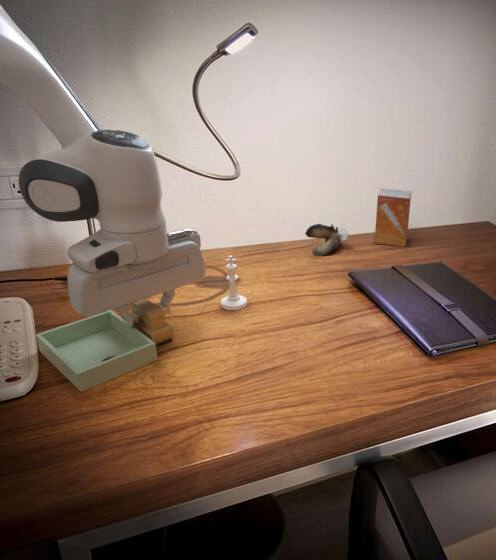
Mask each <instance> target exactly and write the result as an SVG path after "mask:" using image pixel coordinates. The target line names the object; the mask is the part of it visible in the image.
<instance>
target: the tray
mask: <svg viewBox="0 0 496 560" xmlns="http://www.w3.org/2000/svg"><path fill="white" fill-rule="evenodd" d="M35 338H36V342H37V346H38V350H39V352H40V353H41V354H42V355H43V356H44V357H45V358H46V359H47V360H48V361H49V362H50V363H51V364H52V365H53V366H54V367H55V368H56V369H57V370H58V371H59V372H60V373H61V374H62V375H63V376H64V377H65V378H66V379H67V380H68V381H69V382H70V383H71V384H72V385H73V386H75V388H76V389H77V390H78V391H79V392H81V393H83V392H85V391H86V390H90V389H91V388H93V387H96V386H98V385H101V384H103V383H106V382H108V381H111V380H112V379H115V378H117V377H120V376H122V375H124V374H127V373H129V372H132V371H134V370H136V369H139V368H142V367H144V366H146V365H149V364H151V363H153V362H155V361H157V360H159V357H158V350H157V347H156V344H155V342H153V341H152V340H151V339H149V338H148V337H147V336H145V335H144V334H143V333H141V332H140V331H139V330H137V329H136V328H135V327H131V328H130V327H128V326H127V325H126V323H125V319H124V317H121V316H120V315H119V314H118V313H116V312H115V311H113V309H112V310H109V311H106V312H103V313H100V314H97V315H94V316H91V317H85V318H82V319H77V320H76V321H73V322H70V323H67V324H64V325H61V326H57V327H54V328H50V329H49V330H44V331H42V332H39V333H36V334H35ZM112 356H116V357H113V358H111V359H108V360H106V361H103V362H102V360H104V359H106V358H108V357H112Z"/></svg>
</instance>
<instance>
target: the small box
mask: <svg viewBox="0 0 496 560" xmlns="http://www.w3.org/2000/svg"><path fill="white" fill-rule="evenodd" d="M411 200H412V191H410V190H400V189H393V188H392V189H390V188H388V189H387V188H379V192H378V194H377V200H376V201H377V203H376V215H375V230H374V231H375V233H374V244H376V245H386V246H393V247H394V246H395V247H401V248H402V247H403V248H405V247H406V245H407V240H408V231H409V222H410V211H411V210H410V209H411Z"/></svg>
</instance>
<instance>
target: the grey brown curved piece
mask: <svg viewBox="0 0 496 560" xmlns="http://www.w3.org/2000/svg"><path fill="white" fill-rule="evenodd" d="M304 234H305V236H306V237H307V238H311V239H312V238H313V239H324V240H323V241H322V242H321V244H320V245H319V246H317V247H316V248H314V249H312V252H311V253H312V255H313V256H326V255H329V253H331V252H332V251H333V250H335V249H337V248H338V247H339V246H341V245H342V244H341V241H342V242H345V241H346V240H347V239H348V238H349V231H348V230H347V229H346V228H344V227H341V228H340V229H339V227H338V226H334V224H333V223H331V225H330V226H329V225H326V224H325V225H324V224H321V223H316V224H313V225H310V226H309V227H308V228H306V231H305V232H304Z"/></svg>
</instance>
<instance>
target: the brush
mask: <svg viewBox="0 0 496 560" xmlns="http://www.w3.org/2000/svg"><path fill="white" fill-rule="evenodd" d="M129 305H130V309H131V312H134V313H135V314H137V315H138V317H139V320H138V321H139V325H136V326H133V327H135V328H136V329H137V330H139V331H140V332H141V333H143V334H144V335H145V336H147V337H148V338H149V339H151V340H152V341H153V342H155V344H156V348H160V347H161V346H164V345H166V344H168V343H171V342H173V338H174V337H175V336H174V328H173V326H172V325H170V324H169V323H168V322H166V320H165V315H164V312H163V310H162V309H160V308H159V307H157V306H156V304H154V303H153V302H152V301H150V300H148V298H146V299H143V300H140V301H136V302H133V303H130V304H129Z"/></svg>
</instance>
